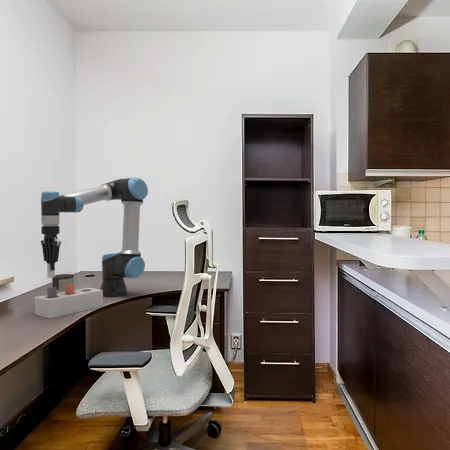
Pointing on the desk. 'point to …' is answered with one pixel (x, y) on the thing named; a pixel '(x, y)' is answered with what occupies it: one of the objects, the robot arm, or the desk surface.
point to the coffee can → (62, 281)
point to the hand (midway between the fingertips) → (51, 277)
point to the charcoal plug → (51, 292)
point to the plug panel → (68, 303)
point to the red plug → (69, 289)
